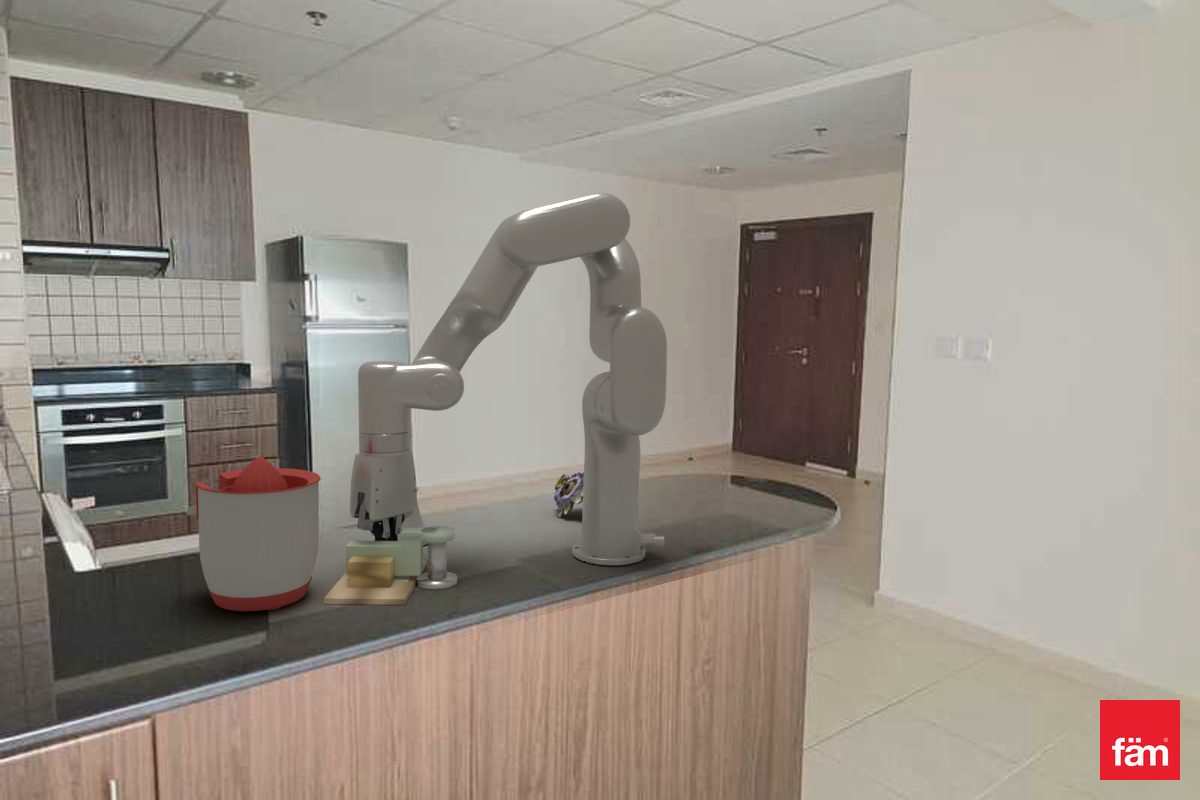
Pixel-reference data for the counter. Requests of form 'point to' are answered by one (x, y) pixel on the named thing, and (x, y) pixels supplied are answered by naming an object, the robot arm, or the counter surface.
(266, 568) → the citrus juicer
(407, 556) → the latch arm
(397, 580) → the oak board
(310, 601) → the counter surface
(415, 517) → the flask
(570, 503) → the passion flower
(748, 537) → the counter surface
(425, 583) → the post
